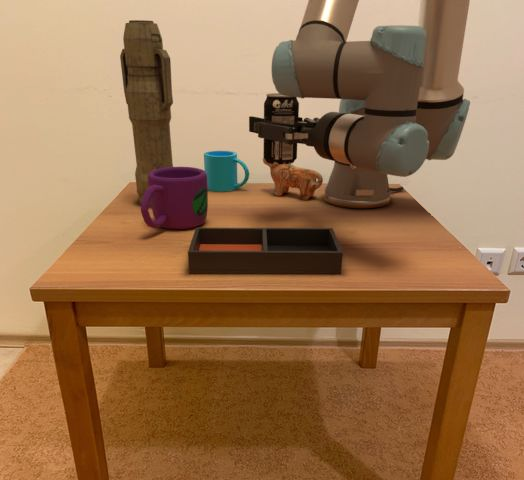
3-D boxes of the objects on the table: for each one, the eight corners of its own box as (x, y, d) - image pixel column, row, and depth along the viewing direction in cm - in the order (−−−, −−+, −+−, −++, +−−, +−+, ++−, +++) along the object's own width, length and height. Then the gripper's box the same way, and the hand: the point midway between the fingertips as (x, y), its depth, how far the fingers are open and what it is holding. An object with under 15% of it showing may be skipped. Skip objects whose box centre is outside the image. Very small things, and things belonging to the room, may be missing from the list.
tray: (196, 247, 91) (195, 227, 90) (330, 247, 92) (332, 228, 90) (189, 273, 81) (187, 251, 79) (341, 274, 81) (343, 252, 79)
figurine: (270, 187, 130) (271, 146, 125) (328, 196, 123) (331, 152, 118) (256, 193, 125) (256, 150, 120) (315, 203, 118) (318, 157, 113)
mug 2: (199, 189, 128) (197, 154, 124) (216, 182, 134) (215, 149, 130) (241, 194, 124) (240, 159, 119) (256, 187, 130) (256, 153, 126)
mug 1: (173, 212, 110) (169, 164, 105) (219, 219, 106) (217, 169, 101) (121, 235, 97) (113, 181, 91) (171, 244, 92) (166, 188, 87)
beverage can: (277, 157, 105) (278, 92, 99) (303, 161, 101) (306, 94, 95) (256, 162, 101) (256, 94, 94) (283, 166, 97) (285, 96, 91)
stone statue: (169, 210, 111) (154, 19, 94) (125, 204, 115) (102, 20, 98) (190, 200, 118) (179, 21, 101) (148, 195, 122) (130, 22, 105)
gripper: (295, 168, 82) (224, 147, 98) (382, 156, 91) (304, 139, 108) (297, 117, 78) (222, 104, 95) (388, 110, 88) (306, 99, 104)
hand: (266, 122), depth 101 cm, fingers closed on beverage can, 7 cm apart
